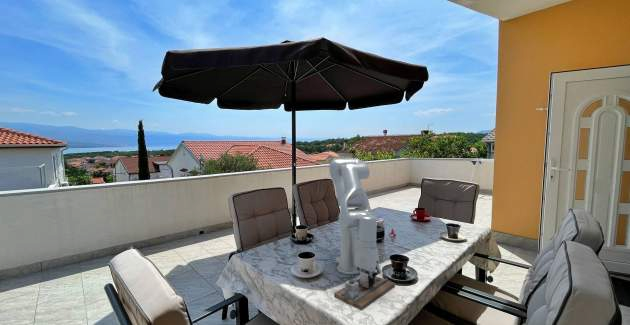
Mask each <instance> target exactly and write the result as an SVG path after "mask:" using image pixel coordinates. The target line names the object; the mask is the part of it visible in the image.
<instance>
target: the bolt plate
mask: <svg viewBox="0 0 630 325" xmlns="http://www.w3.org/2000/svg"><path fill="white" fill-rule="evenodd" d="M395 287H396V283H395V282H392V281H390V280H389V279H388V278H385V279H384V278H382V277H379V276H378V275H376V276H375V284H374V285H373V286H371V287H368V288H367V287H364V286H362V285H360V278H359V279H357V280H354V279H349V280H347V281H345V282H344V287H343V288H341V289H339V290H337V291H335V292H334V293H333V297H334V298H336V299H338V300H340V301H342V302H343V303H346V304H348V305H350V306H352V307H354V308H356V309H357V310H360V311H362V310H364V309H365V308H367V307H368V306H369V305H371V304H372V303H374V302H375V301H376V300H378V299H380V298H381V297H382V296H383V295H386V293H388V292H389V291H391V290H392V289H393V288H395Z"/></svg>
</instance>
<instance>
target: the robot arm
mask: <svg viewBox="0 0 630 325" xmlns="http://www.w3.org/2000/svg"><path fill="white" fill-rule="evenodd" d="M328 167H329V168H328V170H329V175H330V178H331V179H332V181H333V183H334V187H335V192H336V193H335V194H336V197H337V201H338V205H339V206H340V208H339V209H340V210H339V211H340V212H339V214H338V222H339V223H338V225H339V230H340V232H339V233H340V238H339V239H340V241H339V242H340V243H339V244H340V253H339V254H340V256H337V257H336V259H335V262H336V263H338V264H337V267H336V268H337V270H338V271H339V273H341V274H345V275H357V274H359V275H360V271H362V270H366V271H369V272H370V278H369V286H370V287H371V286H373V285H374V284H375V276H378V275H380V274H382V273H383V272H382V269H381V267H380V257H379V256H380V255H379V249H378V247H377V217H376V216H375V215H373V214H372V213H373V212H372V209H371V204H370V201H369V198H368V197H369V196H368V194H367V193H366V192H365V190H363V186H362V181H361V180H366V179H367V180H368V178H369V176H370V168H369V166H368V164H367V163H366V162H364V161H363V160H361V159H360V158H356V157H355V158H352V157H351V158H349V157H348V158H335V159H332V160H331V161H330V163H329V165H328ZM357 228H358V232H357V231H356V230H355V229H357Z"/></svg>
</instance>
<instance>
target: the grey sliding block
mask: <svg viewBox="0 0 630 325" xmlns="http://www.w3.org/2000/svg"><path fill="white" fill-rule="evenodd" d="M369 278H370V272H369V271H366V270H362V271H360V274H359V279H360V285H362V286H364V287H367V288H368V287H370V286H369Z"/></svg>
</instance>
